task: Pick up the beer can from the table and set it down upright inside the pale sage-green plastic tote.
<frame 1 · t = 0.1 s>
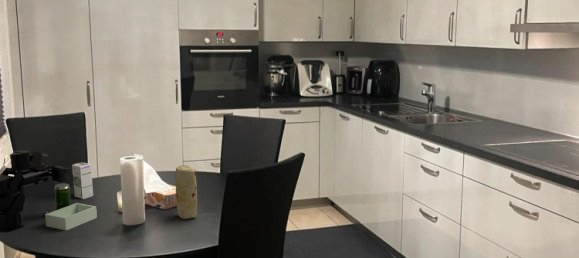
hand: (62, 168, 220), 17 cm above the table, tool horizontal, fingers open, 9 cm apart
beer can: (64, 215, 215), on the table
food model: (186, 217, 213), on the table
tote: (72, 221, 207), on the table
syrup box: (83, 197, 238), on the table
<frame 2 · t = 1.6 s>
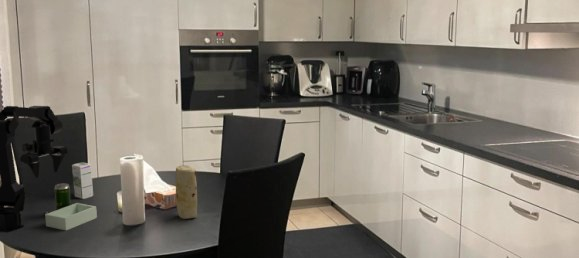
hand: (46, 175, 223), 13 cm above the table, tool pointing down, fingers open, 9 cm apart
nothing on the table moved.
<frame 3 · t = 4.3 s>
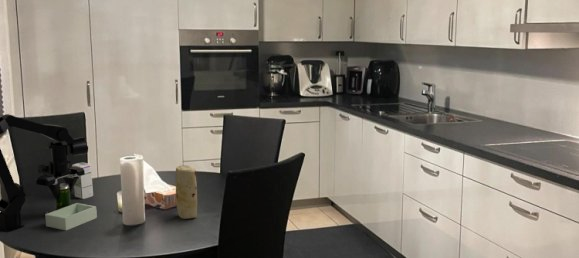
hand: (62, 197, 214), 7 cm above the table, tool pointing down, fingers closed on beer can, 5 cm apart
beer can: (63, 215, 215), on the table, touching gripper
everything else where it was.
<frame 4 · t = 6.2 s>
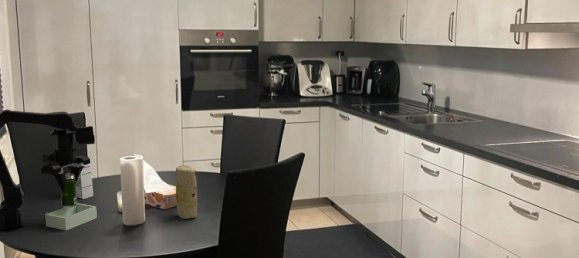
hand: (68, 187, 207), 13 cm above the table, tool pointing down, fingers closed on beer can, 5 cm apart
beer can: (69, 206, 208), point 6 cm above the table, touching gripper
everything else where it was.
when the fingers open (8 cm above the table, at t = 8.0 s): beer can stays where it is, resting on tote.
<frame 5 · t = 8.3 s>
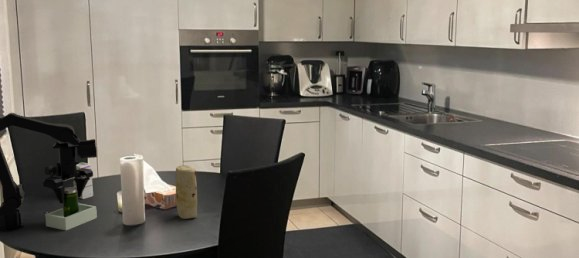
hand: (70, 200, 206), 8 cm above the table, tool pointing down, fingers open, 8 cm apart
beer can: (71, 220, 207), point 1 cm above the table, touching tote
everything else where it was.
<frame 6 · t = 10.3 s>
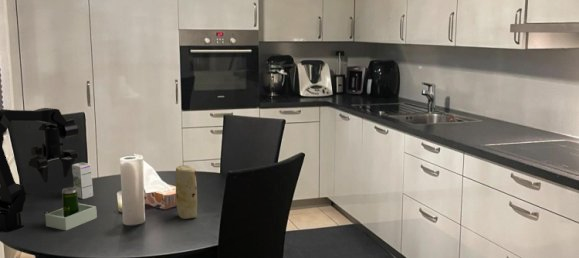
hand: (55, 179, 216), 13 cm above the table, tool pointing down, fingers open, 9 cm apart
nothing on the table moved.
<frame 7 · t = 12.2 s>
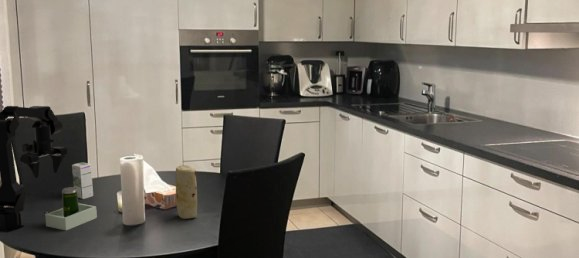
hand: (46, 175, 223), 13 cm above the table, tool pointing down, fingers open, 9 cm apart
nothing on the table moved.
at the end: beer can inside the target area on the tote (0.1 cm from its centre), point 0.6 cm above the tote's base; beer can tilted 0°; the gripper is holding nothing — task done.
